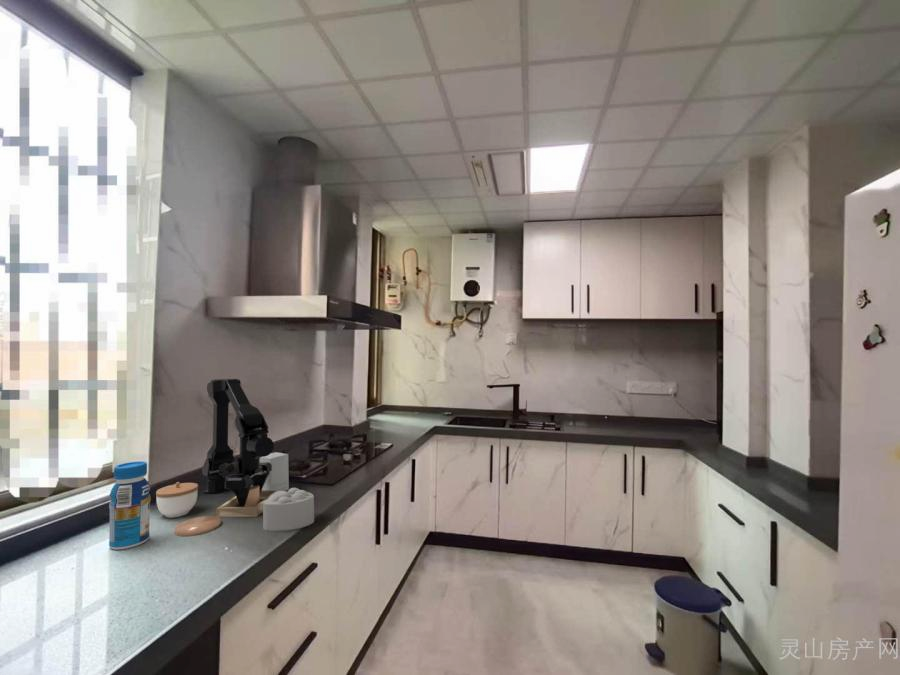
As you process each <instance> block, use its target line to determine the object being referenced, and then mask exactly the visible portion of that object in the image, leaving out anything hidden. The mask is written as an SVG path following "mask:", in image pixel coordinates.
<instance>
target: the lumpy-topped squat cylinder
mask: <svg viewBox="0 0 900 675" xmlns="http://www.w3.org/2000/svg"><path fill="white" fill-rule="evenodd" d="M262 515H263V516H262V519H263V521H262V529H263V530H265V531H267V530H269V531H270V532H273V531H274V532H279V531H292V530H297V529H298V530H299V529H301V528H305V527H308V526H310V525H311V524H313V523H314V522H315V496H314V494H313V493H311V492H308V491H306V490H304V489H299V488H297V487H290V488H289V489H288V490H286V491H277V492H275V493H274V494H273V495H271V496H270V497H269V498H268V499H267V500H265V501H264V502H263V512H262Z"/></svg>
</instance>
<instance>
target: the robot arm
mask: <svg viewBox="0 0 900 675" xmlns="http://www.w3.org/2000/svg"><path fill="white" fill-rule="evenodd" d="M206 391H207V393H208V398H209V399H210V401H211V403H212V404H213V410H212V411H213V413H212V445H211V447H210V448H209V449H208V452H207V453H206V458H205V460H204V463H203V465H202V468H201V473H202V475H203V476H204V477H207V489H206V490H204V491H203V494H221V493H223V492H226V491H227V490H229V491H230V490H231V491H232V492H234V494H235V496H236V497H237V500H238V502H239V504H238V505H239V507H245V504H246V501H247V498H248V494H249V491H250V488H251V485H258V486H259V495H260V492H261V490H262V488H263V486H264V484H265V481H266V479H267V477H268V475H269V474H270V471H272V465H271V464H270V463H269V462H261V463H260V457H265V456H268V455H269V454H271V453H273V451H274V447H275V444H274V442H273V440H272V439H271V438H270V437H268V433H269V426H268V423H267V422H266V419H265V417H264V415H263V413H262V412H261V411H260V410H259V408H258V407H255V406H254V405H252V404H251V402H250V400H249V398H248V397H247V394H246V392H245V391H244V389H243V387H242V383H241V380H240V379H239V378H220V379H218V378H217V379H211V380H210V382H208V383H207V385H206ZM230 403H231V406H232V408H233V409H234V410H233V411H235V414H236V416H235V419H234V424H235V428H236V430H237V432H238V433H239V434H238V435H237V437H239V456H236V458H235V457H234V450H233V449H232V448H231V447H230V445H229V408H230V407H229V406H230ZM228 476H229V477H228ZM251 482H252V484H251Z"/></svg>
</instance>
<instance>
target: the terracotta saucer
mask: <svg viewBox="0 0 900 675" xmlns="http://www.w3.org/2000/svg"><path fill="white" fill-rule="evenodd" d="M221 524H222V517H217V516H216V515H205V516H198V517H194V518H190V519H186V520H184V521H182V522H180V523H178V524H177V525H175V527H174V532H173V533H174V535H176V536H180V537H191V536H197V535H202V534H206V533H208V532H212V531H213V530H216V529H217V528H219V526H220V525H221Z"/></svg>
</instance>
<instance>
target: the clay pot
mask: <svg viewBox="0 0 900 675" xmlns="http://www.w3.org/2000/svg"><path fill="white" fill-rule="evenodd" d="M250 485H251V488H250V491H249V494H248V498H247V501H246V504H245V507H255V506H257V505H258V504H259V503H260V499H259V486H258V485H253V484H250Z"/></svg>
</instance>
